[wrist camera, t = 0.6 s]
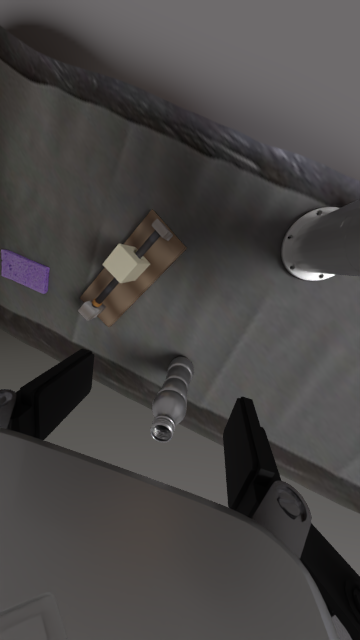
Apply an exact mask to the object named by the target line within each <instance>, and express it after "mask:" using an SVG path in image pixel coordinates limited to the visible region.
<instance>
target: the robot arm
mask: <svg viewBox="0 0 360 640" xmlns="http://www.w3.org/2000/svg"><path fill="white" fill-rule="evenodd" d="M316 213H318V215H317V214H316ZM288 236H289V237H290V239H288ZM281 258H282V262H283V264H284V267H285V268H286V269H287V271H288V272H289V273H290V274H292V275H293V276H295V277H297V278H299V279H302V280H307V281H319V280H324V279H327V278H330V277H332V276H334V275H349V276H360V199H359V200H357V201H355V202H353V203H350V204H348V205H346V206H344V207H341V208H338V207H323V208H318V209H315V210H313V211H310V212H308V213H307V214H305V215H303V216H302V217H300V218H299V219H298V220H297V221H295V222H294V223H293V225H292V226H291V227H290V228H289V230H288V231H287V233H286V234H285V237H284V239H283V242H282V246H281ZM290 266H292V268H291V269H290ZM319 275H320V276H319ZM318 276H319V277H318ZM93 363H94V354H92V351H90V350H86V349H81V350H79V351H77V352H76V353H74V354H73V355H71V356H70V357H68V358H66V359H65V360H63V361H62V362H60V363H59V364H58V365H56V366H54V367H52V368H51V369H49V370H48V371H46V372H45V373H43V374H41V375H40V376H38V377H37V378H35V379H34V380H32V381H31V382H29V383H27V384H26V385H24V386H23V387H21V388H20V390H19V391H17V392H16V393H15V391H12V390H9V389H1V390H0V640H360V576H359V575H358V574H357V573H356V572H355V571H354V570H353V569H352V568H351V566H350V565H349V564H348V563H347V562H346V561H345V560H344V559H343V558H342V556H341V555H340V554H339V553H338V552H337V551H336V550H335V549H334V548H333V547H332V545H331V544H330V543H329V542H328V541H327V540H326V539H325V538H324V537H323V536H322V534H321V533H320V532H319V531H318V530H317V529H316V528H315V527H314V526H313V525H312V523H311V518H312V517H311V513H310V510H309V508H308V505H307V503H306V502H305V500H304V499H303V497H302V496H301V495H300V493H299V492H298V491H297V490H296V489H295V488H293V487H292V486H291V485H289V484H288V483H286V482H283V481H281V478H280V475H279V472H278V469H277V466H276V463H275V460H274V457H273V454H272V451H271V448H270V445H269V442H268V439H267V436H266V433H265V430H264V429H263V428H262V427H260V423H259V420H258V417H257V414H256V410H255V407H254V404H253V401H252V399H249V398H245V397H241V398H238V399H237V401H236V403H235V405H234V408H233V410H232V413H231V415H230V417H229V420H228V422H227V425H226V427H225V430H224V433H223V441H224V454H225V468H226V482H227V494H228V506H229V508H228V507H225V506H223V505H221V504H218V503H215V502H213V501H210V500H207V499H205V498H202V497H200V496H197V495H194V494H192V493H189V492H187V491H184V490H181V489H178V488H176V487H173V486H170V485H167V484H164V483H162V482H159V481H156V480H154V479H151V478H148V477H145V476H142V475H140V474H137V473H134V472H131V471H129V470H126V469H123V468H120V467H118V466H115V465H112V464H109V463H106V462H104V461H101V460H98V459H95V458H92V457H90V456H86V455H84V454H81V453H78V452H75V451H72V450H70V449H67V448H64V447H61V446H58V445H55V444H52V443H50V442H47V441H43V440H44V439H45V438H46V437H47V436H48V435H49V434H50V433H51V432H52V431H53V430H54V429H55V428H56V427H57V426H58V425H59V424H60V423H61V422H62V421H63V419H64V418H66V416H67V415H68V414H69V413H70V412H71V411H72V410H73V409H74V408H75V407H76V406H77V405H78V404H79V403H80V402H81V401H82V400H83V399H84V398H85V397H86V396H87V395H88V394H89V392H90V390H91V387H92V375H93Z"/></svg>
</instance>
